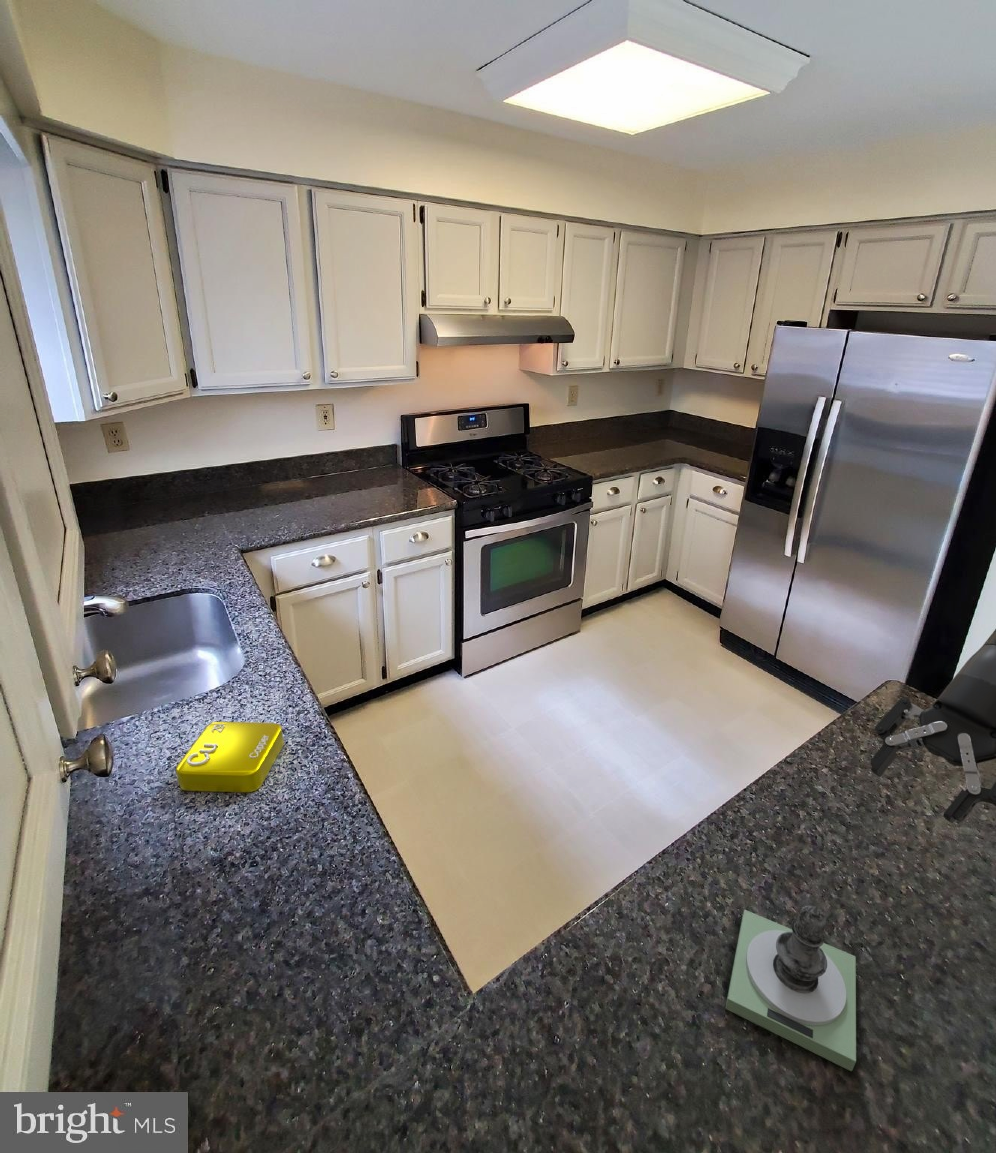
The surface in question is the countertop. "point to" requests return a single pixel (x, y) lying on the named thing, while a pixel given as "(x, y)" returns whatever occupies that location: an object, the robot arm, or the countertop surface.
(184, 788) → the element tile
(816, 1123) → the countertop surface
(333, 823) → the countertop surface
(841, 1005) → the scale
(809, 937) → the chess piece
